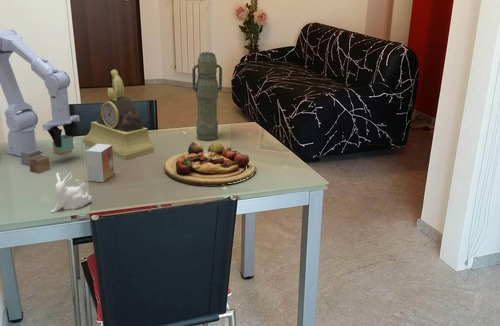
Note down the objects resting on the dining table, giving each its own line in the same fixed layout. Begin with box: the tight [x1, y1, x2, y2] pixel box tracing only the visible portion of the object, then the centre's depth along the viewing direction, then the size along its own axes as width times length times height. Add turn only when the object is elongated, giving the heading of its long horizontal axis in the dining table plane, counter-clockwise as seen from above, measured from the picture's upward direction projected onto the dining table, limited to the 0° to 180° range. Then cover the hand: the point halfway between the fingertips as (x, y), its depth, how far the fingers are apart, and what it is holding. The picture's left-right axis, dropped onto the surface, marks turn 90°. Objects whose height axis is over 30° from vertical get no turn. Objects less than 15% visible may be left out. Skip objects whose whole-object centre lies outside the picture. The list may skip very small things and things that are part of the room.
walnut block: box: [29, 154, 51, 174], centre depth 172 cm, size 4×4×4 cm
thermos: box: [191, 51, 223, 142], centre depth 206 cm, size 9×12×35 cm
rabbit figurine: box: [49, 172, 92, 214], centre depth 146 cm, size 12×8×10 cm, turn 117°
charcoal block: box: [20, 148, 41, 167], centre depth 178 cm, size 4×4×4 cm
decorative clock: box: [82, 69, 155, 161], centre depth 192 cm, size 28×13×30 cm, turn 49°
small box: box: [85, 144, 115, 183], centre depth 166 cm, size 8×6×10 cm
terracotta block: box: [52, 140, 73, 156], centre depth 189 cm, size 4×4×4 cm
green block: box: [54, 134, 75, 152], centre depth 179 cm, size 4×4×4 cm
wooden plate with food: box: [163, 140, 257, 186], centre depth 177 cm, size 32×32×8 cm
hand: (63, 144), depth 180 cm, fingers closed on green block, 4 cm apart
